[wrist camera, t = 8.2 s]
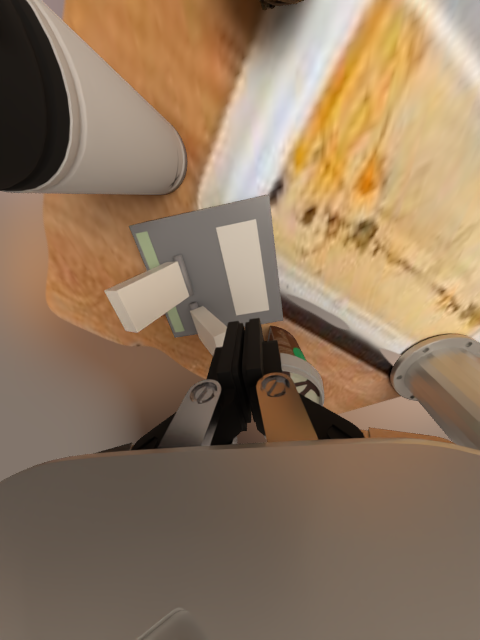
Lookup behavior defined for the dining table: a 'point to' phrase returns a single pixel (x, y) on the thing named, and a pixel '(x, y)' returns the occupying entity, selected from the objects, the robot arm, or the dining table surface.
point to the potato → (277, 3)
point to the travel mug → (75, 116)
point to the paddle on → (150, 294)
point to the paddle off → (208, 327)
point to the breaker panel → (218, 261)
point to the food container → (297, 366)
